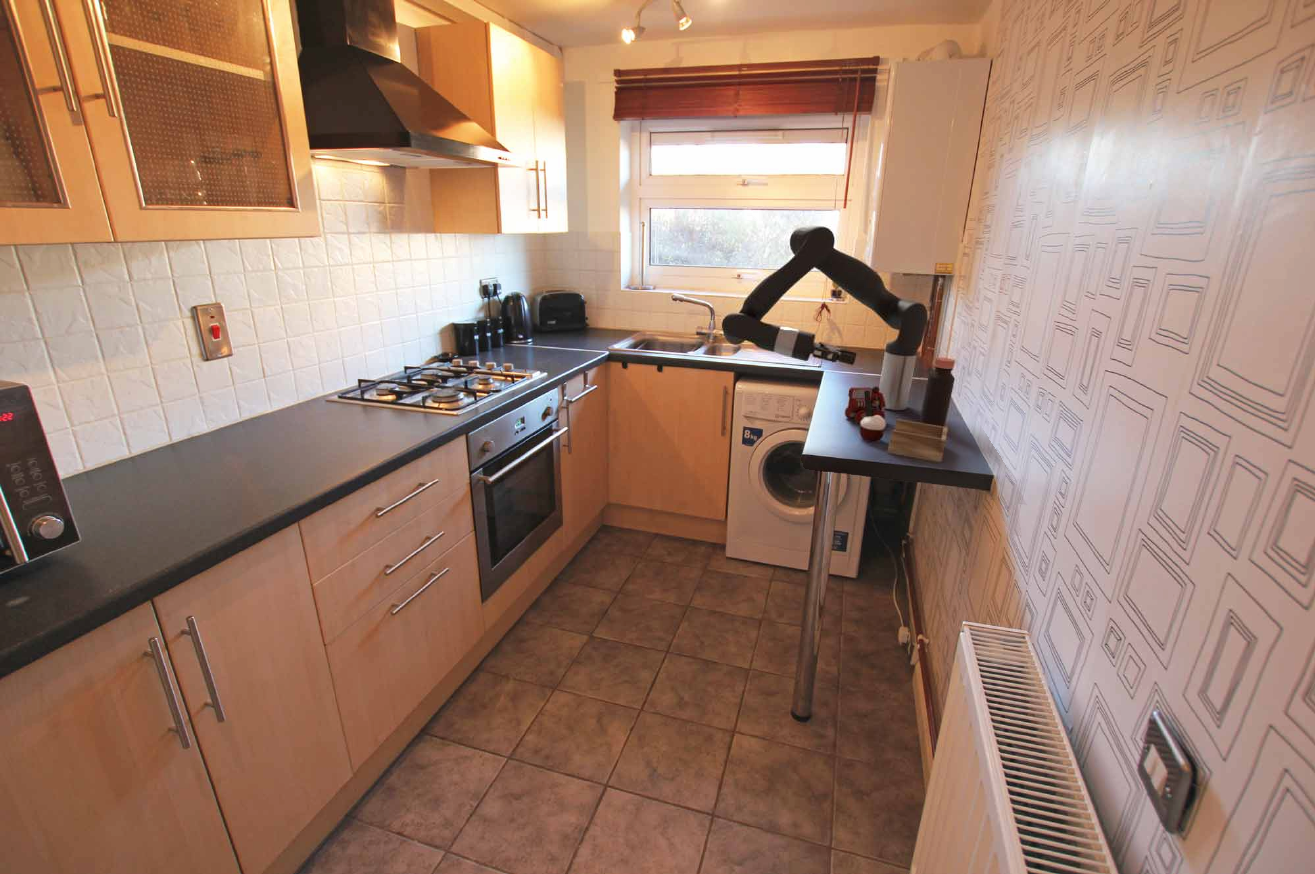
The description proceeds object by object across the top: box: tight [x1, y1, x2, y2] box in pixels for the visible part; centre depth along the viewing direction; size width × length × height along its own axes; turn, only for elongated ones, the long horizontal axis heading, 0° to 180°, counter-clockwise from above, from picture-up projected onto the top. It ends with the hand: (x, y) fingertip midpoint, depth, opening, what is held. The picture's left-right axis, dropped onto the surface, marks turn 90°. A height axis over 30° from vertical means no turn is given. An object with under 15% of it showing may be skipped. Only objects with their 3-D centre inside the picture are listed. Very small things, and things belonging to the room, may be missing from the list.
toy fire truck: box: [844, 385, 886, 425], centre depth 177 cm, size 7×12×10 cm, turn 106°
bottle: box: [918, 357, 956, 427], centre depth 172 cm, size 7×7×20 cm
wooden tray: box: [886, 418, 949, 463], centre depth 156 cm, size 14×12×6 cm
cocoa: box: [859, 390, 887, 442], centre depth 161 cm, size 10×6×12 cm, turn 174°
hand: (855, 358), depth 159 cm, fingers open, 8 cm apart
